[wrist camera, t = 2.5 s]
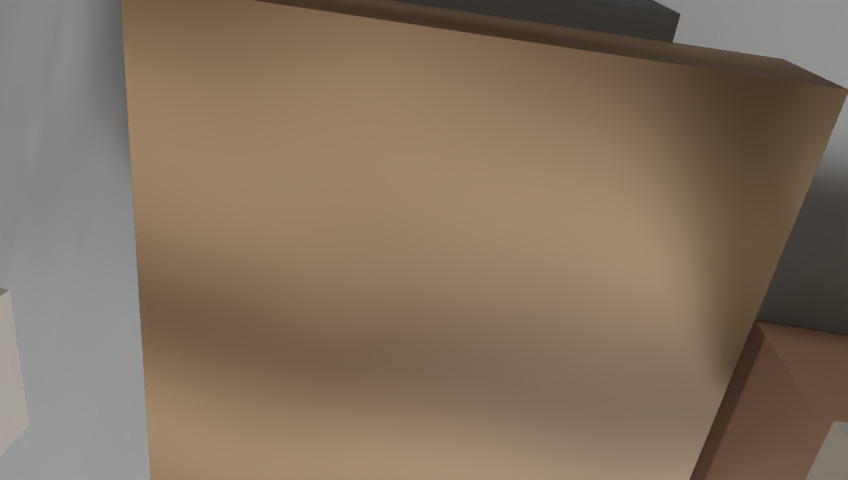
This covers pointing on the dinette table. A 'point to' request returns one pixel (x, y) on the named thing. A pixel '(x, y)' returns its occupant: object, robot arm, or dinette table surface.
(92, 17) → the dinette table surface
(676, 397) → the lid
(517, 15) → the gray rectangular block
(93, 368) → the dinette table surface
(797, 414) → the pink hollow square box
